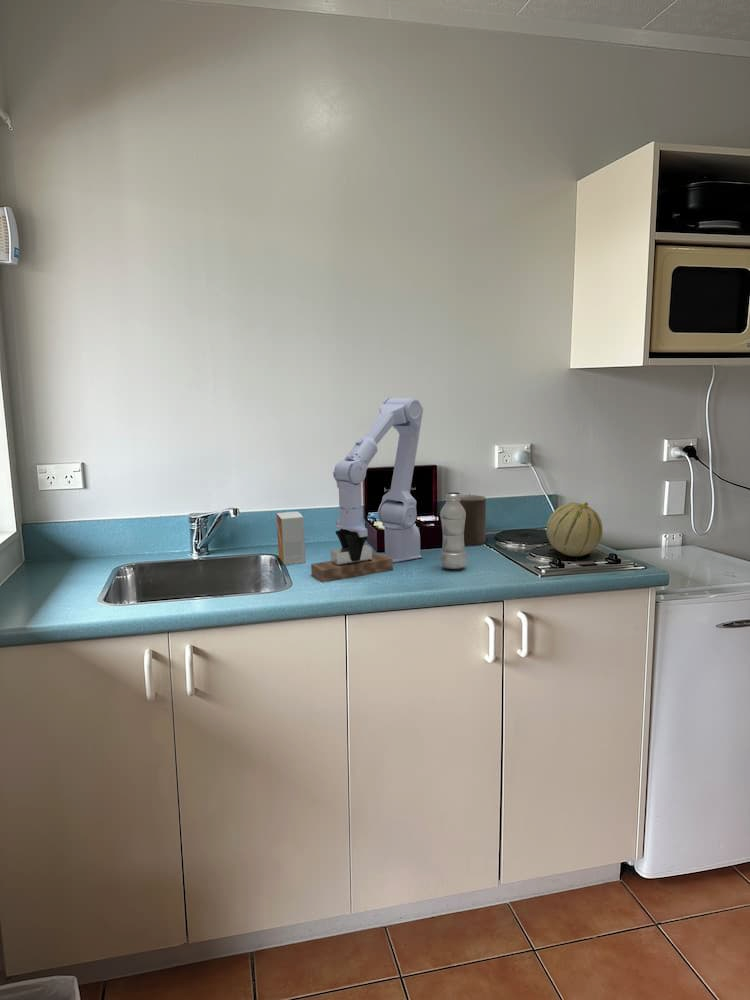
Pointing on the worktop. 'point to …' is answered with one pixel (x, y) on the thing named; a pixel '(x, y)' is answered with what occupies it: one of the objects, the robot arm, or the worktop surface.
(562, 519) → the cantaloupe
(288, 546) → the small box
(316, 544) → the worktop surface
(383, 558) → the walnut rail
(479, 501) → the pillar candle
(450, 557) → the plastic bottle
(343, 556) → the pale wooden bridge block
